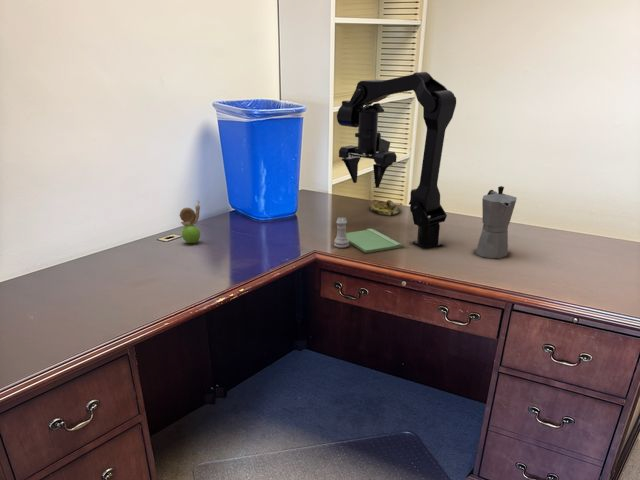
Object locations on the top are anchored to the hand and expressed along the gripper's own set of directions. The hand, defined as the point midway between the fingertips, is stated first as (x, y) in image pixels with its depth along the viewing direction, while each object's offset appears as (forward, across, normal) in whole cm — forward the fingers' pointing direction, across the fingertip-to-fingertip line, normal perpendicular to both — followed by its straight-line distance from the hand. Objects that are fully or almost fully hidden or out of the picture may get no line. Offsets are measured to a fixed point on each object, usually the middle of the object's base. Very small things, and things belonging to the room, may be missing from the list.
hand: (366, 185), depth 184 cm
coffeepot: (+13, -43, -6) cm, 45 cm away
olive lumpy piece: (+13, +9, -21) cm, 27 cm away
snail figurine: (+13, +27, +47) cm, 56 cm away
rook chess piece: (+13, -8, +19) cm, 24 cm away
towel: (+13, -11, +10) cm, 20 cm away
